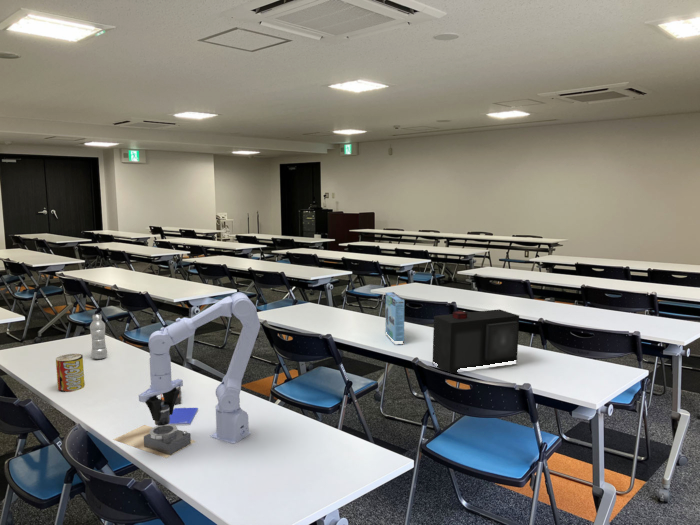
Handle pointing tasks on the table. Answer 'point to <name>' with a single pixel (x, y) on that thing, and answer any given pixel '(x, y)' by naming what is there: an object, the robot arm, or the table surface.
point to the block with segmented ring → (166, 439)
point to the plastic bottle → (98, 337)
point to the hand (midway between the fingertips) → (162, 417)
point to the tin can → (70, 372)
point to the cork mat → (141, 440)
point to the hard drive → (183, 416)
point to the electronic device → (177, 397)
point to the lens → (164, 414)
